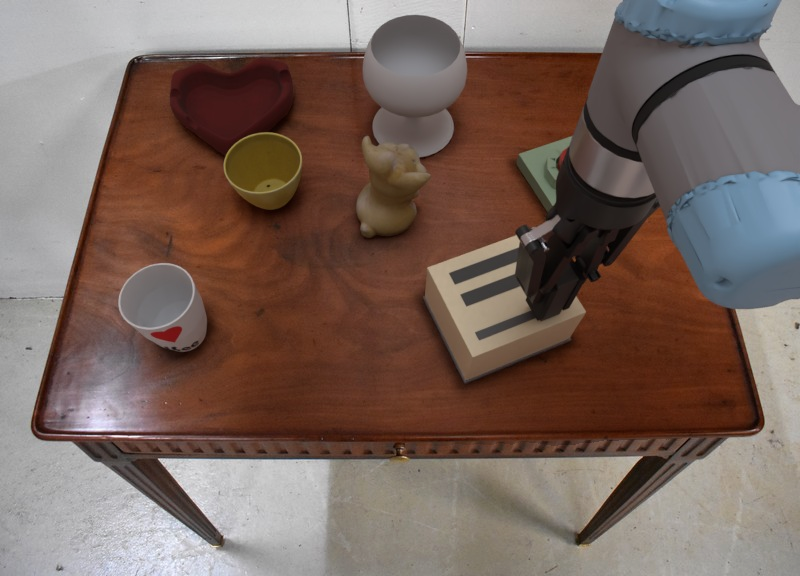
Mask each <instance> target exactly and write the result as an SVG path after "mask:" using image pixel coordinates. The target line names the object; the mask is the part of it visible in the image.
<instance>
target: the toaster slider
mask: <svg viewBox="0 0 800 576" xmlns="http://www.w3.org/2000/svg"><path fill="white" fill-rule="evenodd" d="M578 280H579V278H578V277H577V275H576V273H575V272H574V270H573V269H572V267H571V266H570V264H568V266H567V267H566V269H565V270H564V272H563V273H562V275H561V276H560V278H559V279H558V281H557V282H556V284H555V286H556V288H557V289H558V291H557V293H556V295H555V297H554V299H553V301H552V303H551V305H550V307H549V309H548V311H547V313H546V315H545V317H544V319H541V320H540V321H544V320H546V319H549V318H551V317H554V316H556V315H559V314H560V312H561V311H562V309H563V307H564V305H565V303H566V302H567V300H568V298H569V296H570V294H571V293H572V291H573V289H574V287H575V285H576V283H577V282H578Z"/></svg>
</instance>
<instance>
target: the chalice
mask: <svg viewBox="0 0 800 576" xmlns="http://www.w3.org/2000/svg"><path fill="white" fill-rule="evenodd" d="M467 77H468V63H467V56H466V51H465V47H464V45H463V42H462V40H461V39H460V36H459V35H458V33H457V31H455V29H453V27H452V26H451V25H449V24H447V23H446V22H444V21H443V20H441V19H439V18H436V17H433V16H428V15H423V14H406V15H400V16H397V17H393V18H392V19H389V20H387V21H386V22H384V23H383V24H381V25H379V27H378V28H377V29H376V30H375V31H374V32H373V34H372V36H371V38H370V40H369V41H368V43H367V45H366V47H365V52H364V55H363V60H362V80H363V84H364V87H365V89H366V92H367V93H368V95H369V96H370V97H371V99H372V100H373V102H375V103H376V104H377V105H378V106H379V107H380V108H379V109H378V110H377V112H376V114H375V115H374V117H373V121H372V133H373V136H374V138H375V140H376V142H377V143H378V145H379V144H381V143H385V142H390V143H394V144H396V145H400V144H408V145H410V146H412V147H413V148H414V149H415V150H416V151H417V153H418V155H419V158H424V157H429V156H431V155H433V154H436V153H438V152H439V151H441V150H443V149H444V148H445V147H446V146H447V145H448V144H449V143H450V141H451V139H452V137H453V134H454V131H455V125H454V119H453V117H452V115H451V114H450V111H448V109H447V108H449V107H451V106H452V105H453V104H454V103H455V102H456V101H457V100H458V99H459V97H460V96H461V94H462V92H463V91H464V89H465V87H466V82H467Z"/></svg>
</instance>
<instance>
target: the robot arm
mask: <svg viewBox="0 0 800 576" xmlns="http://www.w3.org/2000/svg"><path fill="white" fill-rule="evenodd" d="M782 1H783V0H622V1H621V2H620V3H619V4H618V5H617V6H616V8H615V11H614V14H613V15H614V18H613V21H612V23H611V26H610V30H609V33H608V36H607V38H606V41H605V45H604V47H603V50H602V52H601V55H600V58H599V61H598V63H597V67H596V70H595V72H594V75H593V78H592V81H591V84H590V86H589V89H588V92H587V97H586V99H585V103H584V105H583V107H582V109H581V113H580V115H579V118H578V121H577V123H576V126H575V129H574V131H573V133H572V135H571V136H572V139H571V142H570V145H569V147H568V149H567V151H566V154H565V156H564V159H563V162H562V165H561V167H560V170H559V173H558V175H557V179H556V203H555V204H554V206H553V207H552V208H551V209H550V210H549V211H548V212H546V214H545V221H544V222H543V223H541V224H539V225H537V226H532V227H530V226H529V225H528V224H523V225H521V226H519V227H518V228H517V229H515V231H514V233H515V236H516V235H517V237H518V239H519V240H520V244H519V250H518V257H517V263H516V270H515V278H516V279H517V281H518V283H519V285H520V286H521V288H522V290H523V291H524V293H525V295H526V296H527V298H526V302H527V304H528V305H529V307H530V309H531V310H532V312H533V314H534V316H535V317H536V319H537V321H539V320H541V319H544V317H545V315H546V313H547V311H548V309H549V307H550V305H551V303H552V301H553V299H554V297H555V295H556V293H557V291H558V289H557V288H556V286H555V284H556V282H557V281H558V279H559V278H560V276H561V275H562V273H563V272H564V270H565V269H566V267H567V266H568V264H570V266H571V267H572V269H573V270H574V272H575V273H576V275H577V277H578V278H579V280H578V282H577V283H576V285H575V287H574V289H573V291H572V293H571V294H570V296H569V298H568V300H567V302H566V303H565V305H564V307H563V309H562V310H563V311H564V310H566V309H569V308H570V306H571V304H572V302H573V301H574V299H575V297H576V296H578V294H579V292H580V291H581V288H582V286H584V284H585V283H586V282H587V280H588V281H589V283H595V282H596V281H599V280H600V279H601V278H602V275H601V274H600V271H598V270H599V267H600V266H601V265H602V266H603V267H605V268H606V267H609V266H611V265H613V263H615V261H616V260H617V259H618V258H619V256H620V255H621V254H622V253H623V251H624V250H625V249H626V247H627V246H628V244H629V243H630V242H631V241H632V239H633V238H634V237H635V236H636V234H637V233H638V231H640V229H641V227H642V226H643V225H644V224H645V222H646V221H647V220H648V219H649V218H650V217H651V216H652V215H653V214H654V213H655V212H657V210H659V208H660V209H661V212H662V214H663V218H664V219H665V222H666V230H667V235H668V236H669V238H670V241H671V243H673V244H674V246H675V248H676V249H677V250H678V251H679V253H680V256H681V258H682V259H683V261H684V263H685V265H686V266H687V269H688V270H689V273H690V275H691V277H692V279H693V281H694V283H695V284H696V285H695V286H696V287H697V289H698V291H699V292H700V293H701V294H702V296H703V297H704V298H705V299H707V300H708V301H710V302H711V303H712V304H715V305H716V306H720V307H723V308H726V309H732V310H756V309H763V308H764V309H765V308H769V307H774V306H777V305H778V304H781V303H784V302H787V301H790V300H800V104H798V103H796V102H795V100H793V97H792V96H791V95H790V93H789V91H788V90H787V88H786V86H785V85H784V84H783V82H782V80H781V79H780V77H779V76H778V74H777V73H776V70H775V69H774V68H773V66H772V64H771V62H770V60H769V58H768V57H767V55H766V54H765V52H764V51H763V48H762V47H761V46H760V41H761V37H762V36H763V35H764V34H765V33H766V34H767V32H768V30H770V28H771V27H772V22H773V19H774V17H775V14H776V12H777V10H778V8H779V6H780V5H781V2H782ZM573 258H574V259H575V260H574V259H573Z"/></svg>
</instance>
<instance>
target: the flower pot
mask: <svg viewBox="0 0 800 576" xmlns="http://www.w3.org/2000/svg"><path fill="white" fill-rule="evenodd" d="M223 172H224V176H225V178H226V179H227V181H228V183H229V184H230V185H231V187H232V188H233V190H235V192H237V194H238V195H239V196H240V197H242V198H243V200H245V201H247V202H248V203H250V204H251V205H253V206H255V207H257V208H260V209H263V210H268V211H273V210H278V209H280V208H282V207H284V206H286V205H287V204H289V202H290V201H291V200H292V198H293V197H294V195H295V193H296V191H297V189H298V187H299V184H300V181H301V177H302V172H303V156H302V152H301V149H300V148H299V147H298V144H297V143H295V142H294V141H293V140H292V139H290V138H289V137H288V136H285V135H284V134H280V133H276V132H270V131H269V132H268V133H267V132H265V133H256V134H252V135H249V136H247V137H244V138H243V139H241V140H239V141H238V142H237V143H235V144H234V145H233V146H232V147H231V148H230V149H229V151H228V153H227V154H226V156H224V160H223Z"/></svg>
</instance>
